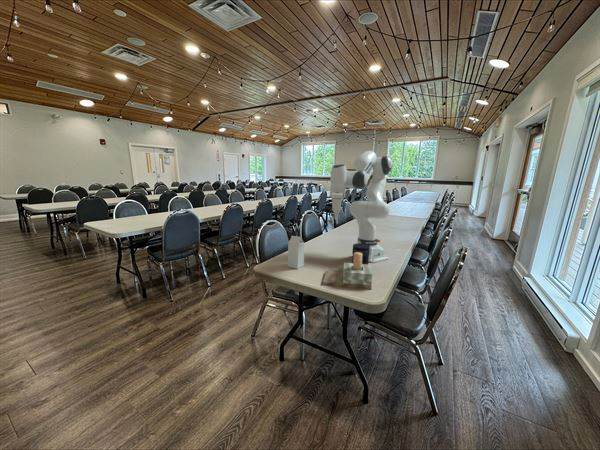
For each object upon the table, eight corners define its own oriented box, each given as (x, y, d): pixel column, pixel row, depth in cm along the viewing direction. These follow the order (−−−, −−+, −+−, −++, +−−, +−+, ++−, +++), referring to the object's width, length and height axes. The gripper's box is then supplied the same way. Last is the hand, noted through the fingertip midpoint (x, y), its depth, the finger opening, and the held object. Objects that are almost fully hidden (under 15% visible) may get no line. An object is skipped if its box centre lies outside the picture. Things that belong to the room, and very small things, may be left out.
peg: (357, 276, 135) (359, 251, 132) (362, 279, 131) (364, 254, 128) (350, 277, 133) (352, 252, 130) (355, 281, 129) (357, 255, 126)
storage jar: (348, 267, 152) (349, 243, 149) (362, 266, 155) (364, 242, 152) (356, 273, 143) (358, 248, 140) (371, 272, 146) (373, 247, 143)
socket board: (368, 276, 139) (369, 264, 137) (371, 289, 123) (372, 275, 122) (325, 273, 143) (326, 260, 142) (323, 284, 128) (323, 270, 126)
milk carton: (297, 269, 148) (298, 238, 144) (288, 266, 152) (288, 236, 148) (303, 265, 154) (304, 236, 150) (294, 263, 158) (294, 234, 154)
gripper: (333, 192, 151) (332, 215, 154) (330, 195, 131) (329, 220, 134) (343, 192, 150) (342, 215, 152) (342, 195, 130) (341, 221, 133)
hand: (336, 218), depth 143 cm, fingers open, 8 cm apart
